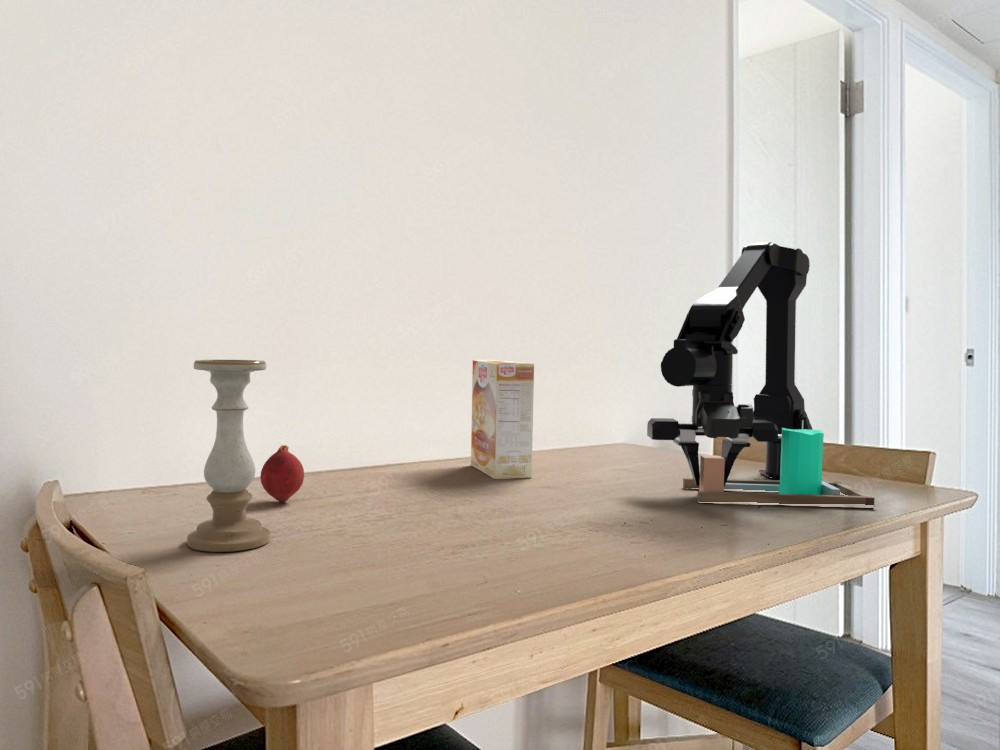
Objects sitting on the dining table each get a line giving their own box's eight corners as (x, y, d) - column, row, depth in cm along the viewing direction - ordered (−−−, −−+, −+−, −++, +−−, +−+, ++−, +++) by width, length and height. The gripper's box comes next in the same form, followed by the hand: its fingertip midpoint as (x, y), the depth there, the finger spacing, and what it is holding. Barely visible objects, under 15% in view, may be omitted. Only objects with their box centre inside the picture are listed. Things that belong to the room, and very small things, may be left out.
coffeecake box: (469, 465, 147) (471, 359, 146) (506, 464, 149) (508, 359, 148) (492, 479, 133) (495, 362, 132) (533, 478, 135) (536, 362, 134)
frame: (694, 489, 127) (696, 452, 127) (816, 493, 127) (818, 455, 126) (708, 501, 118) (709, 461, 117) (839, 505, 117) (841, 465, 117)
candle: (776, 499, 121) (779, 420, 120) (782, 493, 126) (785, 417, 125) (818, 504, 118) (821, 423, 117) (823, 497, 123) (826, 419, 123)
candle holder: (241, 529, 95) (242, 359, 94) (286, 542, 90) (287, 361, 89) (171, 543, 88) (172, 359, 87) (215, 558, 83) (216, 362, 82)
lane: (682, 487, 129) (683, 477, 129) (840, 492, 128) (840, 482, 128) (699, 503, 116) (699, 492, 116) (874, 508, 115) (874, 497, 115)
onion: (291, 507, 108) (292, 448, 107) (252, 505, 109) (253, 446, 108) (310, 499, 113) (311, 443, 113) (273, 497, 114) (273, 441, 114)
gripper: (659, 386, 114) (657, 495, 115) (791, 388, 113) (788, 497, 114) (647, 382, 125) (645, 481, 126) (768, 384, 124) (765, 483, 125)
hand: (709, 486), depth 122 cm, fingers open, 3 cm apart
